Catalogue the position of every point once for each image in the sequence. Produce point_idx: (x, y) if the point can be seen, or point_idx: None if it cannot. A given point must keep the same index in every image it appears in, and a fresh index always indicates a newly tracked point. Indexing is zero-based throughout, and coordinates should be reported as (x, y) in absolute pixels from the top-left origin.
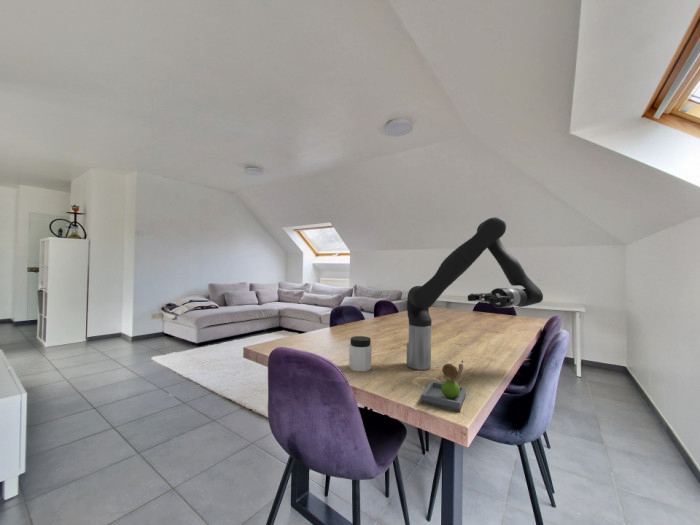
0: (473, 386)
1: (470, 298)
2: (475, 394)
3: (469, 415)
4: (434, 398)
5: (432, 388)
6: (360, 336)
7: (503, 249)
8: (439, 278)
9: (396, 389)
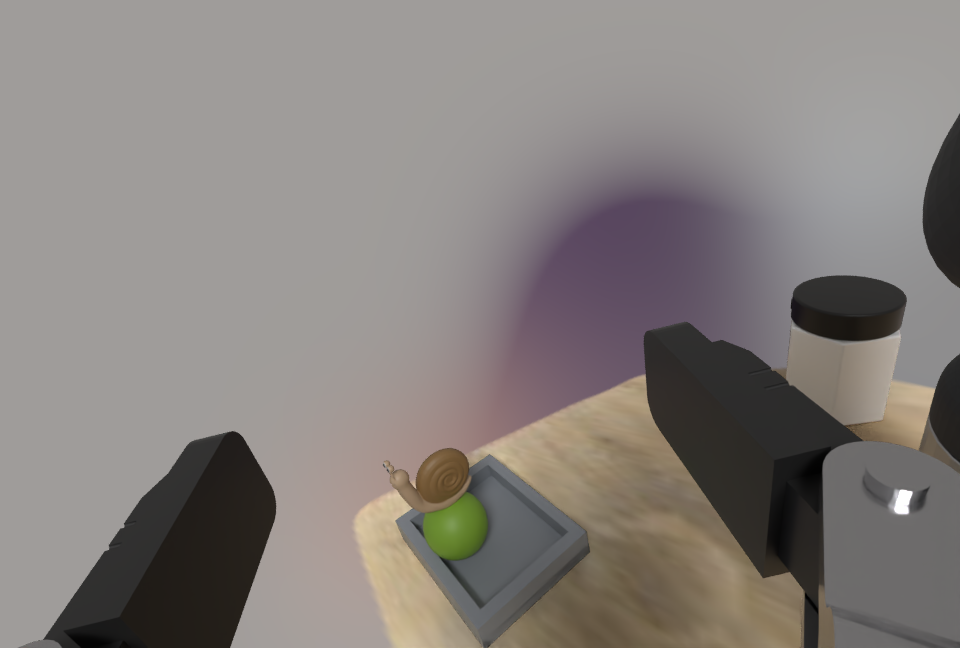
0: None
1: (659, 393)
2: None
3: (376, 553)
4: None
5: (557, 533)
6: (892, 293)
7: None
8: None
9: (603, 448)
